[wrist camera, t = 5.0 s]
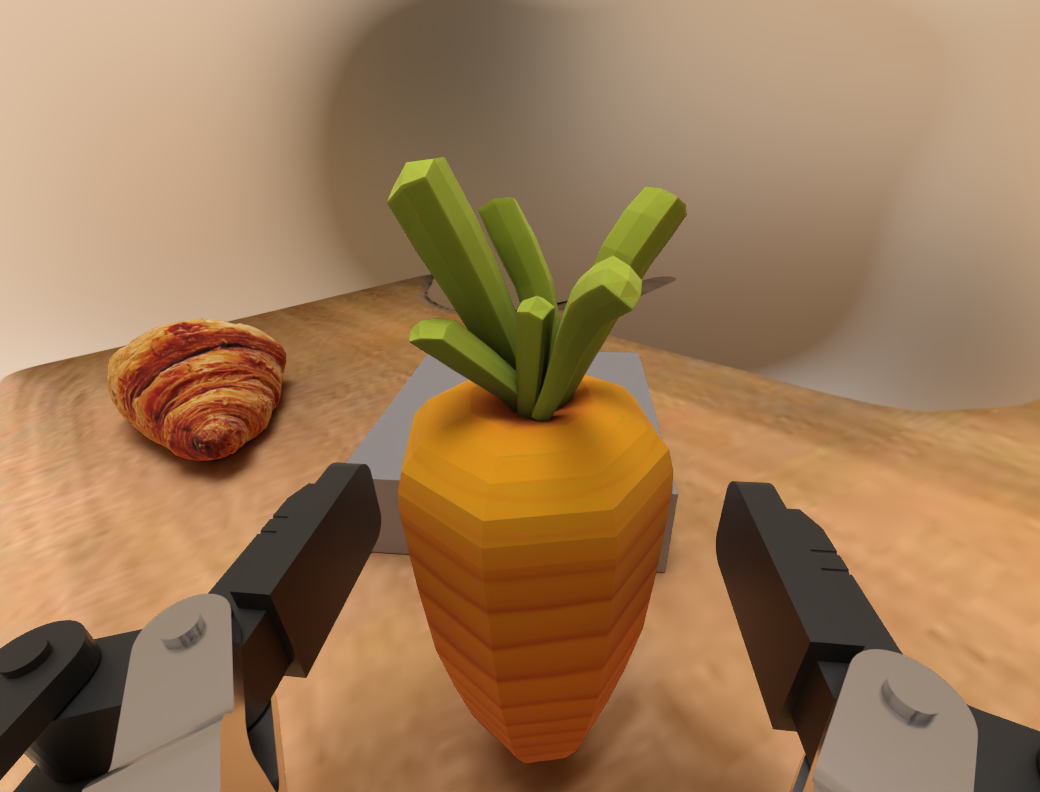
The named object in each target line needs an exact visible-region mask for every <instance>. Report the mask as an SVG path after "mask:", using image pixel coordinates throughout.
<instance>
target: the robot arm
mask: <svg viewBox="0 0 1040 792" xmlns="http://www.w3.org/2000/svg"><path fill="white" fill-rule="evenodd" d="M380 529H381V512H380V508H379V503H378V499H377V495H376V491H375V486H374V482H373V478H372V474H371V470H370V468H369V466H368V465H367V464H355V463H332V464H331V465H330V466H329V467H328V468H327V469H326V470H325V472H324V473H323V474H322V475H321V477H320V478H319V479H318V480H317V482H316V483H315V484H307V485H306V486H304V487H303V488H302V489H300V490H299V491H297V492H296V493H294V494H293V495H292V496H290V497H289V498H287V500H286V501H285V502H284V503H283V504H282V506H281V507H280V508H279V509H278V510H277V512H276V513H275V514H274V515H273V519H270V520H269V521H268V522H267V524H266V525H265V526H264V527H263V528H262V530H261V533H260V534H257V536H256V537H255V538H254V539H253V540H252V542H251V543H250V544H249V545H248V546H247V547H246V549H245V550H244V551H243V552H242V553H241V555H240V556H239V557H238V558H237V559H236V561H235V562H234V563H233V564H232V565H231V567H230V568H229V569H228V570H227V571H226V573H225V574H224V575H223V576H222V577H221V579H220V580H219V581H218V582H217V583H216V585H215V586H214V587H213V588H212V589H211V591H210V592H209V593H208V594H201V595H196V596H192V597H189V598H186V599H184V600H182V601H179V602H177V603H175V604H173V605H172V606H170V607H168V608H167V609H165V610H164V611H162V612H161V613H159V614H158V615H157V616H156V617H154V618H153V619H152V620H151V621H150V622H149V623H148V624H147V625H146V626H145V627H144V628H143V629H141V630H137V631H132V632H127V633H122V634H117V635H113V636H108V637H103V638H98V639H93V638H92V636H91V635H90V634H89V632H88V631H87V630H86V628H85V627H84V626H83V625H82V624H81V623H79V622H77V621H71V620H65V621H58V622H53V623H49V624H46V625H43V626H40V627H38V628H35V629H33V630H31V631H29V632H27V633H25V634H23V635H21V636H19V637H17V638H16V639H14V640H12V641H11V642H9V643H8V644H6V645H5V646H3V647H2V648H1V649H0V780H1V779H2V778H3V777H4V775H5V774H6V773H7V772H8V771H9V770H10V768H11V767H12V766H13V765H14V764H15V763H16V762H17V760H18V759H19V758H20V757H21V756H22V755H23V754H25V755H26V756H27V757H29V758H30V759H31V760H32V761H33V762H34V763H35V764H36V765H35V766H34V767H33V769H32V770H31V771H30V772H29V773H28V775H27V776H26V777H25V778H24V779H23V781H22V782H21V783H20V784H19V785H18V787H17V788H16V789H15V790H14V791H13V792H287V783H286V774H285V765H284V756H283V747H282V738H281V729H280V720H279V712H278V703H277V698H276V695H275V693H274V692H275V690H276V689H277V687H278V685H279V683H280V681H281V680H282V678H283V676H292V677H302V678H306V677H307V675H308V673H309V672H310V670H311V668H312V666H313V664H314V662H315V660H316V658H317V656H318V654H319V652H320V650H321V648H322V646H323V644H324V643H325V641H326V639H327V637H328V635H329V633H330V631H331V629H332V627H333V625H334V623H335V621H336V619H337V617H338V616H339V614H340V612H341V610H342V608H343V606H344V604H345V602H346V600H347V598H348V596H349V594H350V592H351V590H352V588H353V587H354V585H355V583H356V581H357V579H358V577H359V575H360V573H361V571H362V569H363V567H364V565H365V563H366V561H367V560H368V558H369V556H370V554H371V552H372V550H373V548H374V546H375V544H376V542H377V540H378V537H379V534H380ZM716 553H717V560H718V564H719V567H720V570H721V573H722V576H723V579H724V582H725V585H726V588H727V591H728V594H729V597H730V600H731V603H732V606H733V609H734V613H735V616H736V619H737V622H738V625H739V628H740V631H741V634H742V637H743V640H744V643H745V646H746V649H747V652H748V655H749V658H750V661H751V664H752V667H753V670H754V673H755V676H756V679H757V682H758V685H759V688H760V691H761V694H762V697H763V700H764V703H765V706H766V709H767V712H768V715H769V718H770V721H771V724H772V727H773V729H777V730H786V731H796V732H798V735H799V738H800V740H801V743H802V746H803V748H804V751H805V753H804V755H803V757H802V759H801V761H800V764H799V767H798V770H797V772H796V775H795V778H794V781H793V783H792V786H791V789H790V792H1040V731H1037V730H1034V729H1031V728H1029V727H1026V726H1023V725H1020V724H1017V723H1015V722H1012V721H1009V720H1006V719H1003V718H1001V717H998V716H995V715H992V714H989V713H987V712H984V711H981V710H979V709H976V708H974V707H971V706H969V705H967V704H966V703H965V701H964V700H963V699H962V698H961V696H960V695H959V694H958V693H957V692H956V691H955V690H954V689H953V688H952V687H951V686H950V685H949V684H948V683H947V682H946V681H945V680H944V679H943V678H941V677H940V676H939V675H938V674H936V673H935V672H934V671H932V670H931V669H929V668H928V667H926V666H925V665H923V664H921V663H919V662H918V661H916V660H914V659H911V658H909V657H907V656H905V655H903V654H902V652H901V651H900V650H899V648H898V647H897V645H896V643H895V642H894V640H893V639H892V637H891V636H890V634H889V632H888V631H887V629H886V628H885V626H884V625H883V623H882V621H881V620H880V618H879V617H878V615H877V614H876V612H875V610H874V609H873V607H872V606H871V604H870V603H869V601H868V599H867V598H866V596H865V595H864V593H863V592H862V590H861V588H860V587H859V585H858V584H857V582H856V580H855V579H854V577H853V576H852V575H849V572H848V571H849V569H848V568H847V566H846V565H845V563H844V562H843V560H842V558H841V557H840V555H837V551H836V549H835V547H834V546H833V544H832V543H831V541H830V540H829V538H828V536H827V535H826V533H825V532H824V530H823V529H822V528H821V527H820V526H819V525H818V524H816V523H815V522H814V521H813V520H812V519H810V518H809V517H808V516H807V515H806V514H804V513H803V512H802V511H801V510H800V509H787V508H786V507H785V505H784V503H783V501H782V500H781V498H780V496H779V494H778V493H777V491H776V489H775V488H774V486H773V485H772V484H770V483H758V482H736V481H732V482H730V484H729V485H728V488H727V492H726V496H725V500H724V505H723V509H722V513H721V518H720V522H719V526H718V531H717V536H716Z"/></svg>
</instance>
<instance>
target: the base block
mask: <svg viewBox="0 0 1040 792" xmlns="http://www.w3.org/2000/svg"><path fill="white" fill-rule="evenodd" d="M585 375H588V376H592V377H595V378H598V379H602V380H605V381H608V382H611V383H615V384H618V385H621V386H623V387H624V388H625V389H626V390H627V391H628V392H629V393H630V394H631V395H632V396H633V397H634V398H635V399H636V401H637V402H638V404H639V405H640V407H641V408H642V410H643V411H644V413H645V414H646V416H647V417H648V419H649V420H650V422H651V423H652V425H653V426H654V428H655V429H656V431H657V433H658V434H659V436H660V437H661V439H662V435H661V432H660V428H659V425H658V421H657V417H656V414H655V410H654V407H653V403H652V399H651V396H650V392H649V389H648V385H647V382H646V378H645V374H644V371H643V367H642V364H641V360H640V356H639V353H616V352H598V353H597V355H596V357H595V358H594V360H593V362H592V363H591V365H590V367H589V369H588V370H587V372H586V374H585ZM467 380H469V379H467V378H465V377H464V376H462V375H460V374H459V373H457V372H455V371H454V370H452V369H451V368H449V367H448V366H446V365H444V364H443V363H441V362H440V361H438V360H437V359H435V358H434V357H432V356H430V355H429V354H428V355H427V356H426V357H425V359H424V360H423V361H422V363H421V364H420V365H419V367H418V368H417V369H416V371H415V372H414V373H413V375H412V376H411V377H410V379H409V380H408V381H407V383H406V384H405V385H404V387H403V388H402V389H401V391H400V392H399V393H398V395H397V396H396V397H395V399H394V400H393V401H392V403H391V404H390V405H389V407H388V408H387V409H386V411H385V412H384V413H383V415H382V416H381V417H380V419H379V420H378V421H377V423H376V424H375V425H374V427H373V428H372V429H371V431H370V432H369V433H368V435H367V436H366V437H365V439H364V440H363V441H362V443H361V444H360V445H359V447H358V448H357V449H356V451H355V452H354V453H353V455H352V456H351V457H350V459H349V460H348V461H347V463H355V464H367V465H368V466H369V468H370V470H371V474H372V478H373V482H374V486H375V491H376V495H377V499H378V503H379V508H380V512H381V529H380V534H379V537H378V540H377V542H376V544H375V546H374V548H373V550H372V552H383V553H398V554H409V550H408V546H407V542H406V538H405V534H404V530H403V526H402V522H401V518H400V514H399V502H398V489H399V482H400V476H401V470H402V465H403V461H404V457H405V452H406V448H407V444H408V439H409V435H410V430H411V426H412V422H413V417H414V414H415V413H416V412H417V411H418V410H419V409H420V408H421V407H422V406H423V405H424V404H425V403H426V402H427V400H429V399H431V398H433V397H435V396H437V395H439V394H441V393H443V392H445V391H447V390H449V389H451V388H453V387H455V386H457V385H459V384H461V383H463V382H465V381H467ZM662 440H663V439H662ZM677 497H678V493H677V489H676V486H675V482H674V479H673V490H672V496H671V501H670V506H669V511H668V516H667V521H666V526H665V531H664V537H663V542H662V547H661V552H660V557H659V562H658V567H657V571H656V572H665V569H666V563H667V557H668V551H669V545H670V539H671V533H672V527H673V521H674V515H675V509H676V503H677Z"/></svg>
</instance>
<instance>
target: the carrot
mask: <svg viewBox="0 0 1040 792" xmlns="http://www.w3.org/2000/svg"><path fill="white" fill-rule="evenodd" d="M387 203H388V205H389V206H390V208H391V210H392V211H393V213H394V215H395V216H396V218H397V220H398V221H399V223H400V224H401V226H402V228H403V230H404V232H405V233H406V235H407V237H408V238H409V240H410V242H411V243H412V245H413V247H414V248H415V250H416V251H417V253H418V254H419V256H420V257H421V259H422V260H423V262H424V263H425V265H426V266H427V268H428V269H429V270H430V272H431V274H432V275H433V277H434V278H435V280H436V281H437V282H438V284H439V285H440V287H441V288H442V290H443V291H444V293H445V294H446V296H447V297H448V299H449V300H450V302H451V304H452V305H453V306H454V308H455V310H456V312H457V313H458V315H459V316H460V318H461V320H462V321H463V323H464V324H465V326H466V328H467V329H468V330H467V329H466V328H465V327H464V326H462V325H461V324H460V323H459V322H457V321H456V320H448V319H441V318H434V319H429V320H424V321H419V322H418V323H417V324H416V325H415V326H414V327H413V328H412V329H411V331H410V337H409V342H410V343H412V344H413V345H415V346H416V347H418V348H419V349H421V350H423V351H424V352H426V353H427V354H429V355H430V356H432V357H434V358H435V359H437V360H438V361H440V362H441V363H443V364H444V365H446V366H448V367H449V368H451V369H452V370H454V371H455V372H457V373H459V374H460V375H462V376H464V377H465V378H467V379H469V380H467V381H465V382H463V383H461V384H459V385H457V386H455V387H453V388H451V389H449V390H447V391H445V392H443V393H441V394H439V395H437V396H435V397H433V398H431V399H429V400H427V402H426V403H425V404H424V405H423V406H422V407H421V408H420V409H419V410H418V411H417V412H416V413H415V414H414V417H413V422H412V426H411V430H410V435H409V439H408V444H407V448H406V452H405V457H404V461H403V465H402V470H401V476H400V482H399V489H398V502H399V514H400V518H401V522H402V526H403V530H404V534H405V538H406V542H407V546H408V550H409V554H410V558H411V562H412V566H413V570H414V575H415V579H416V583H417V587H418V591H419V594H420V597H421V601H422V604H423V607H424V611H425V614H426V618H427V621H428V624H429V628H430V631H431V634H432V638H433V641H434V645H435V648H436V651H437V653H438V655H439V657H440V659H441V660H442V662H443V664H444V666H445V668H446V670H447V672H448V674H449V676H450V678H451V680H452V682H453V684H454V686H455V687H456V689H457V691H458V692H459V694H460V695H461V697H462V699H463V700H464V702H465V703H466V705H467V707H468V708H469V710H470V711H471V713H472V715H473V716H474V717H475V718H476V719H477V720H478V721H479V722H480V723H481V724H482V725H483V726H484V727H485V728H486V729H487V730H488V731H489V732H490V733H491V734H492V735H493V736H494V737H495V738H497V739H498V740H499V741H500V742H501V743H502V744H503V745H504V746H505V747H506V748H507V749H508V750H509V751H510V752H511V753H512V754H513V755H514V756H515V757H516V758H517V759H519V760H521V761H522V762H524V763H531V762H539V761H547V760H555V759H563V758H566V757H567V756H569V755H571V754H572V753H574V752H575V751H577V750H578V748H579V746H580V745H581V743H582V742H583V740H584V738H585V737H586V735H587V734H588V732H589V730H590V729H591V727H592V725H593V724H594V722H595V721H596V719H597V717H598V716H599V714H600V713H601V711H602V709H603V708H604V706H605V705H606V703H607V701H608V700H609V698H610V696H611V694H612V692H613V690H614V688H615V686H616V684H617V683H618V681H619V679H620V677H621V675H622V673H623V671H624V669H625V667H626V665H627V663H628V661H629V658H630V656H631V654H632V651H633V649H634V647H635V645H636V642H637V640H638V638H639V636H640V633H641V631H642V629H643V625H644V621H645V617H646V613H647V609H648V604H649V600H650V596H651V592H652V588H653V584H654V580H655V575H656V571H657V567H658V562H659V557H660V552H661V547H662V542H663V537H664V531H665V526H666V521H667V516H668V511H669V506H670V501H671V496H672V490H673V467H672V462H671V458H670V453H669V449H668V448H667V446H666V445H665V443H664V442H663V440H662V439H661V437H660V436H659V434H658V433H657V431H656V429H655V428H654V426H653V425H652V423H651V422H650V420H649V419H648V417H647V416H646V414H645V413H644V411H643V410H642V408H641V407H640V405H639V404H638V402H637V401H636V399H635V398H634V397H633V396H632V395H631V394H630V393H629V392H628V391H627V390H626V389H625V388H624V387H623V386H621V385H618V384H615V383H611V382H608V381H605V380H602V379H598V378H595V377H592V376H588V375H585V374H586V372H587V370H588V369H589V367H590V365H591V363H592V362H593V360H594V358H595V357H596V355H597V353H598V352H599V350H600V348H601V346H602V345H603V343H604V341H605V340H606V338H607V336H608V334H609V333H610V331H611V329H612V328H613V326H614V324H615V322H616V321H617V319H618V318H619V317H620V316H622V315H624V314H626V313H628V312H630V311H632V310H633V309H634V307H635V305H636V303H637V301H638V299H639V298H640V296H641V286H642V278H643V276H644V275H645V273H646V271H647V270H648V268H649V266H650V265H651V264H652V262H653V261H654V260H655V258H656V257H657V256H658V254H659V253H660V252H661V250H662V249H663V247H664V246H665V245H666V243H667V242H668V241H669V240H670V238H671V237H672V236H673V234H674V232H675V231H676V230H677V228H678V227H679V225H680V224H681V222H682V221H683V219H684V218H685V217H686V215H687V214H686V205H685V204H684V203H683V202H682V201H681V200H680V199H679V198H678V197H677V196H675V195H673V194H671V193H669V192H667V191H665V190H664V189H660V188H650V187H645V188H644V189H643V190H642V191H641V193H640V194H639V195H638V196H637V197H636V198H635V199H634V200H633V201H632V202H631V204H630V205H629V206H628V207H627V208H626V209H625V211H624V212H623V214H622V215H621V217H620V218H619V220H618V221H617V223H616V224H615V226H614V228H613V229H612V231H611V232H610V234H609V235H608V237H607V238H606V240H605V241H604V243H603V244H602V247H601V249H600V252H599V254H598V256H597V259H596V261H595V263H594V266H593V267H592V268H591V269H590V270H589V271H587V272H586V273H585V274H584V275H583V276H582V277H581V278H580V279H579V280H578V282H577V283H576V285H575V286H574V288H573V289H572V292H571V295H570V297H569V299H568V302H567V305H566V307H565V310H564V312H563V315H562V318H561V322H560V319H559V313H558V307H557V302H556V296H555V290H554V284H553V280H552V277H551V275H550V272H549V270H548V267H547V265H546V262H545V260H544V257H543V254H542V252H541V249H540V247H539V244H538V242H537V239H536V237H535V235H534V233H533V231H532V229H531V228H530V226H529V224H528V222H527V220H526V218H525V216H524V214H523V213H522V211H521V209H520V207H519V205H518V203H517V201H516V200H515V199H514V198H513V197H509V198H498V199H492V200H491V201H489V202H488V203H487V204H485V205H484V206H482V207H481V208H479V209H478V212H479V214H480V216H481V219H482V221H483V223H484V225H485V228H486V230H487V232H488V234H489V236H490V239H491V241H492V243H493V245H494V248H495V250H496V252H497V254H498V256H499V257H500V259H501V261H502V263H503V265H504V267H505V269H506V271H507V273H508V275H509V277H510V279H511V280H512V282H513V284H514V286H515V288H516V292H517V294H518V298H519V301H520V306H519V308H518V310H517V312H516V311H515V308H514V306H513V303H512V300H511V297H510V295H509V292H508V289H507V286H506V284H505V281H504V278H503V276H502V273H501V271H500V269H499V267H498V265H497V262H496V260H495V258H494V256H493V253H492V251H491V249H490V247H489V245H488V242H487V240H486V238H485V236H484V234H483V232H482V229H481V227H480V225H479V223H478V220H477V218H476V216H475V214H474V212H473V210H472V208H471V207H470V205H469V203H468V201H467V199H466V197H465V195H464V193H463V192H462V190H461V188H460V186H459V184H458V182H457V180H456V178H455V176H454V175H453V173H452V171H451V169H450V167H449V165H448V163H447V161H446V159H445V158H444V157H442V158H436V159H430V160H421V161H414V162H406V164H405V166H404V168H403V170H402V172H401V174H400V176H399V178H398V179H397V182H396V183H395V185H394V187H393V189H392V191H391V194H390V196H389V199H388V201H387Z"/></svg>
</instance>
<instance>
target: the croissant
mask: <svg viewBox="0 0 1040 792" xmlns="http://www.w3.org/2000/svg"><path fill="white" fill-rule="evenodd" d="M109 361H110V362H109V365H108V370H109V372H108V376H107V380H108V390H109V392H110V394H111V397H112V401H113V402H114V404H115V406H116V407H117V409H118V410H119V412H120V413H121V414H122V415H123V417H124V418H126V419H127V420H129V422H130V424H131V425H132V426H133V427H135V428H136V429H137V430H138V431H140V432H141V433H142V434H143V435H144V436H146V437H147V438H148V439H150V440H151V441H154V442H156V443H158V444H160V445H162V446H164V447H166V448H167V449H169V450H171V451H172V452H173V453H174V454H175V455H176V456H179V457H182V458H184V459H189V460H195V461H209V460H216V459H220V458H223V457H226V456H228V455H229V454H232V453H235V452H236V451H237V450H238V449H239V448H240V447H242V446H243V445H244V443H245V442H247V441H249V440H252V439H253V438H255V437H257V436H258V435H259V434H260V433H261V432H262V431H263V430H265V429H266V427H267V425H268V423H269V420H270V419H271V414H272V410H274V409H275V408H276V407H277V405H278V403H279V400H280V396H281V388H282V387H281V384H282V379H283V376H284V375H283V372H284V368H285V364H286V353H285V351H284V349H283V347H282V346H281V345H280V344H279V343H278V342H277V341H275V340H274V339H272V338H271V337H270V336H268V335H267V334H266V333H264V332H262V331H260V330H259V329H257V328H254V327H251V326H249V325H243V324H241V323H240V324H231V323H228V322H221V321H218V320H209V319H207V320H203V319H196V320H190V321H179V322H174V323H170V324H165V325H163V326H160V327H156V328H154V329H152V330H149V331H147V332H146V333H144V334H142V335H141V336H139V337H138V338H136V339H134V340H132V341H131V342H130V343H129V344H128V345H127V346H125V347H123V348H120V349H119V350H118V351H117V352H116V353H115V354H113V356H112V357H111V358H110V359H109Z"/></svg>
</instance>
